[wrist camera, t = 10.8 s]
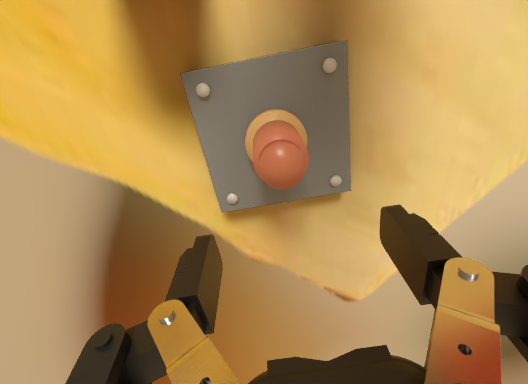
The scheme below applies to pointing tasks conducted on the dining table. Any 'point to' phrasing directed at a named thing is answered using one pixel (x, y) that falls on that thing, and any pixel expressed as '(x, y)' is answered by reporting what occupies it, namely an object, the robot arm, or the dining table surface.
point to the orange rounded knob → (279, 154)
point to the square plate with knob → (268, 109)
